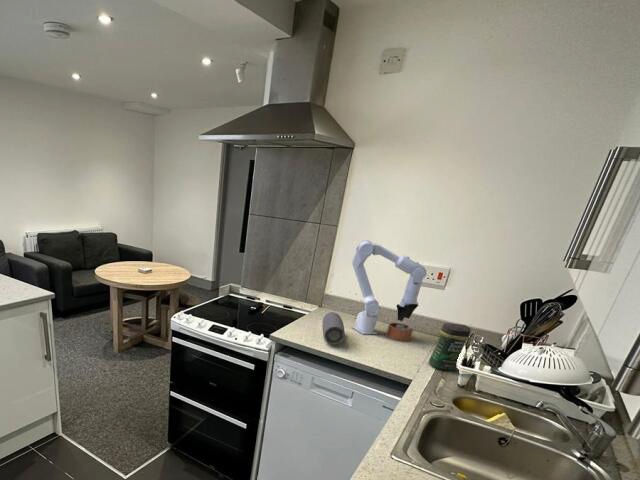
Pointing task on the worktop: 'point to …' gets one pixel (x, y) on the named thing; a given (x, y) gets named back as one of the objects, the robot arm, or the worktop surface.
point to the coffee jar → (449, 346)
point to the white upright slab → (403, 327)
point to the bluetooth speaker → (333, 328)
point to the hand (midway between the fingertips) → (403, 319)
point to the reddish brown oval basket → (398, 332)
